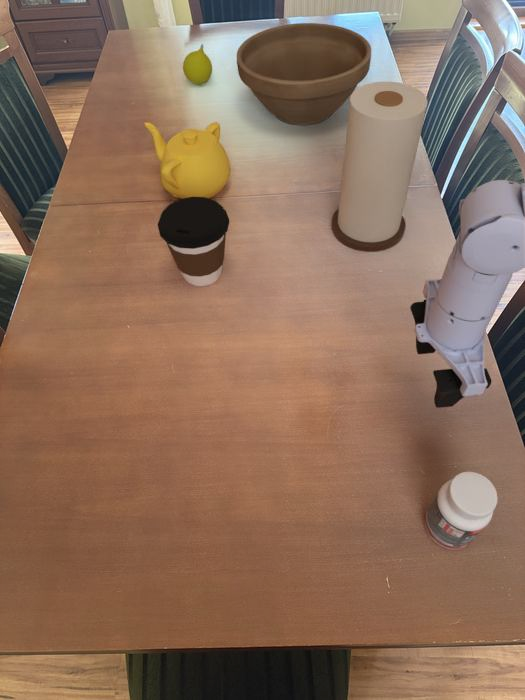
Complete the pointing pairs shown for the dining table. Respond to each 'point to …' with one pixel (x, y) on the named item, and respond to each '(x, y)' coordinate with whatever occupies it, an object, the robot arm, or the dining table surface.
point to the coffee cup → (196, 237)
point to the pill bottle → (461, 510)
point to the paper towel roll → (378, 164)
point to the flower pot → (303, 69)
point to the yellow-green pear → (197, 67)
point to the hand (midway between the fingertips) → (434, 377)
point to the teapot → (192, 162)
